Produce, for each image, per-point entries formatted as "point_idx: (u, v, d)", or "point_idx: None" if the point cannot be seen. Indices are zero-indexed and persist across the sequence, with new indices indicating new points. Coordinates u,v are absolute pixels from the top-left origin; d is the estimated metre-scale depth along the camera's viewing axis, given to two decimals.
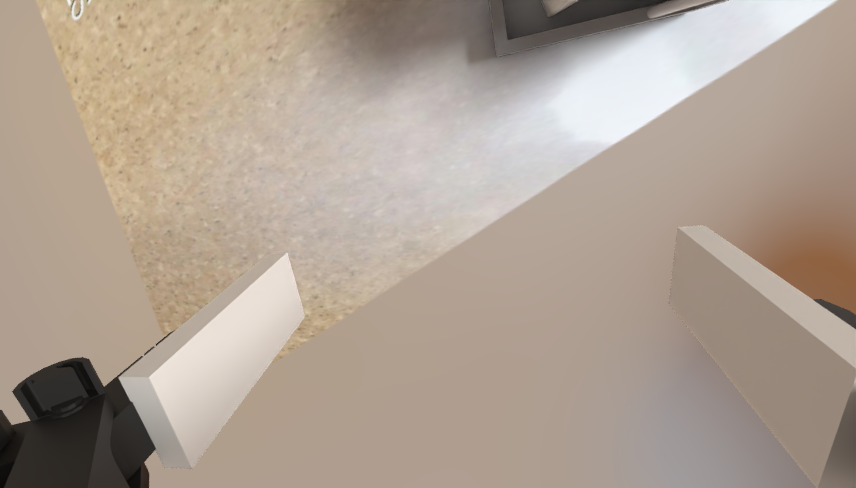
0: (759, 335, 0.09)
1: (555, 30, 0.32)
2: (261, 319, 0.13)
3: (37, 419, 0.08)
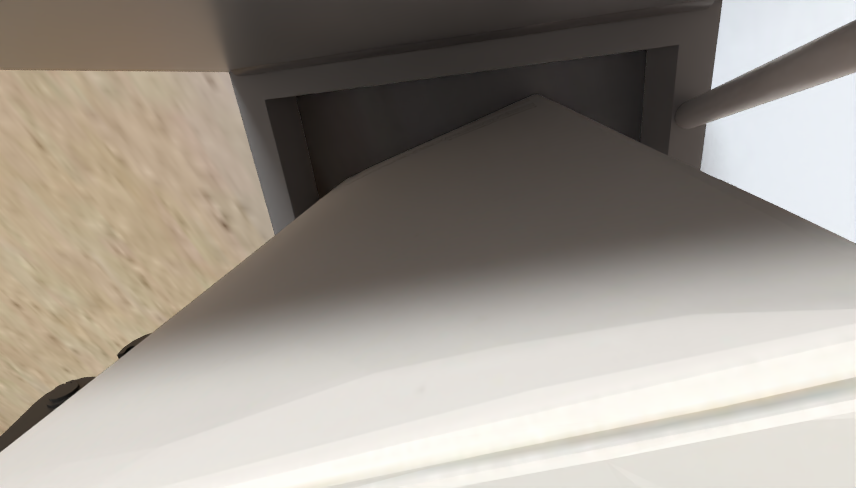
0: None
1: None
2: None
3: None
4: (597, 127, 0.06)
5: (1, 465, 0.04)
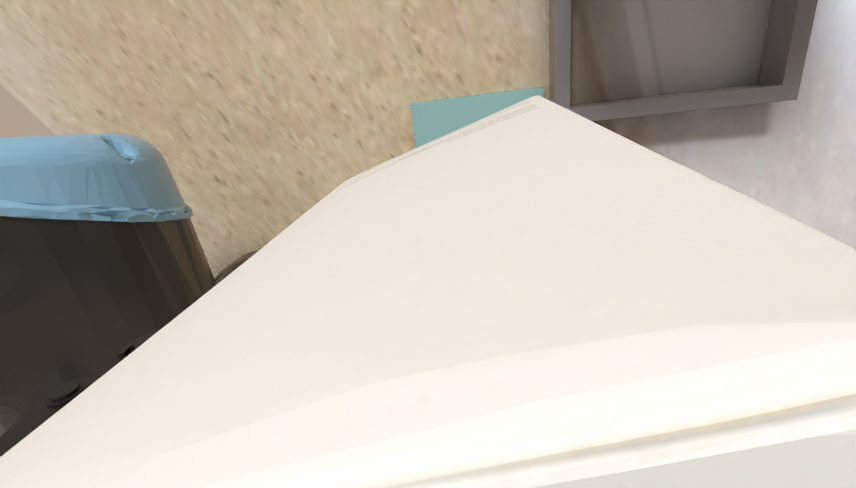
0: None
1: (798, 17, 0.24)
2: None
3: None
4: (599, 130, 0.06)
5: (1, 471, 0.04)
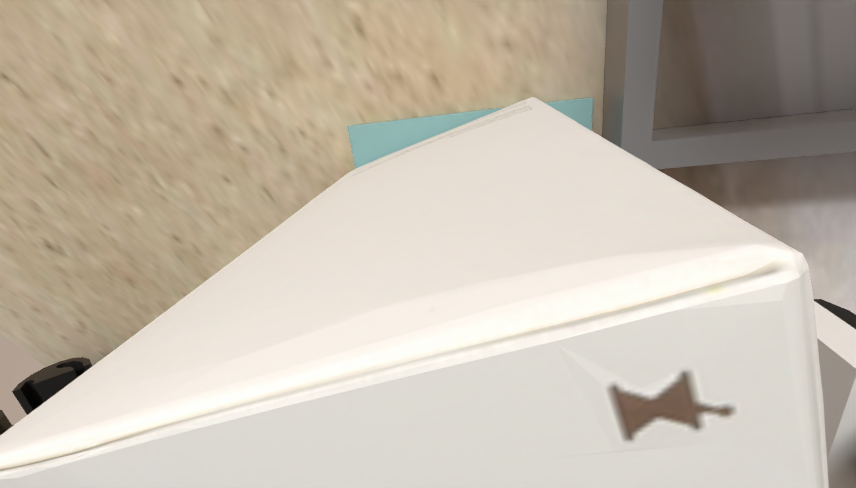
0: None
1: None
2: None
3: None
4: (581, 130, 0.07)
5: (76, 390, 0.05)
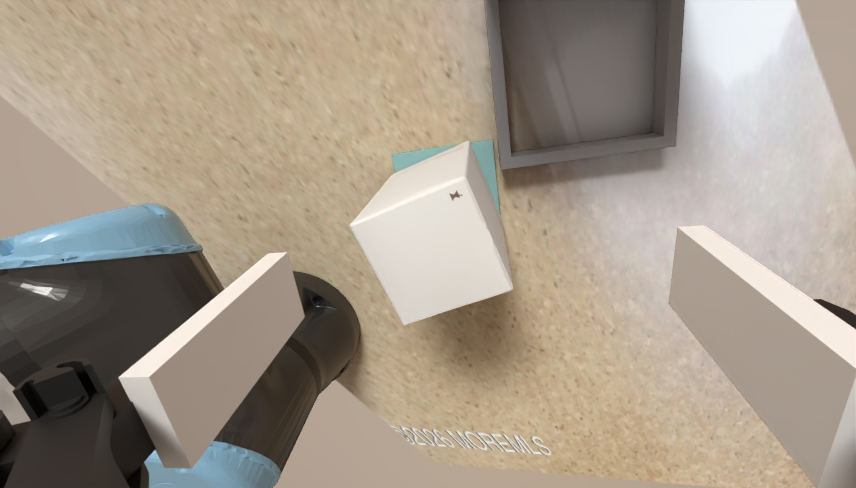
0: (759, 335, 0.09)
1: (668, 89, 0.33)
2: (261, 319, 0.13)
3: (37, 419, 0.08)
4: (464, 159, 0.30)
5: (363, 215, 0.28)
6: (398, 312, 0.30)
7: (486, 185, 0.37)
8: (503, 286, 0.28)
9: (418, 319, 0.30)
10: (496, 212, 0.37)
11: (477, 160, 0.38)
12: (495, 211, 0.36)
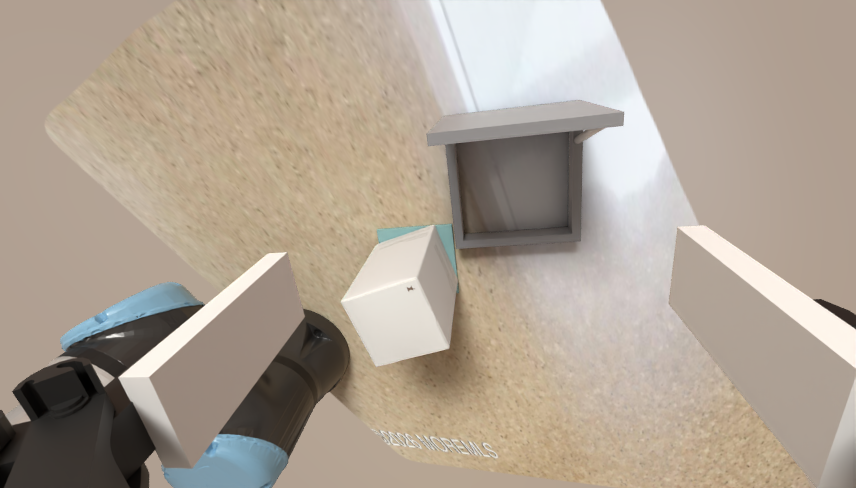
0: (759, 335, 0.09)
1: (573, 203, 0.47)
2: (261, 319, 0.13)
3: (37, 419, 0.08)
4: (423, 254, 0.44)
5: (350, 293, 0.42)
6: (372, 358, 0.43)
7: (444, 260, 0.50)
8: (442, 346, 0.41)
9: (385, 363, 0.43)
10: (450, 280, 0.50)
11: (439, 239, 0.52)
12: (449, 281, 0.50)
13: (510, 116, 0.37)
